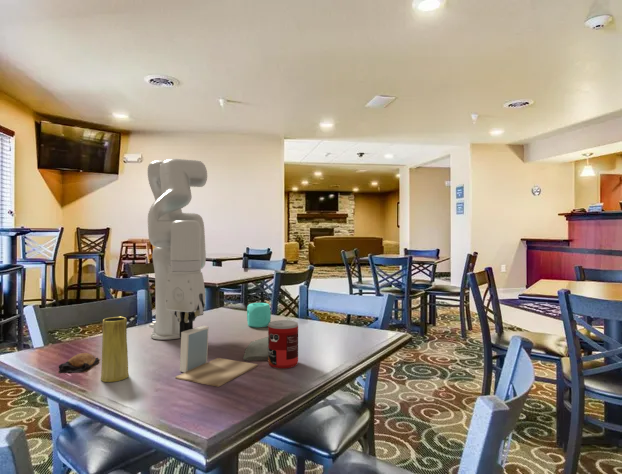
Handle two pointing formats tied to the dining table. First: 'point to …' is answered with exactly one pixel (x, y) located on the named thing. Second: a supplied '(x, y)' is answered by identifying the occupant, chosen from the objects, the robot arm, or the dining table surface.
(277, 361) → the canned food
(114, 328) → the vase
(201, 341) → the tile
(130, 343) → the dining table surface
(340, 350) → the dining table surface
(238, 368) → the mat
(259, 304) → the decorative dice
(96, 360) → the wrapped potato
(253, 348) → the stone slab
